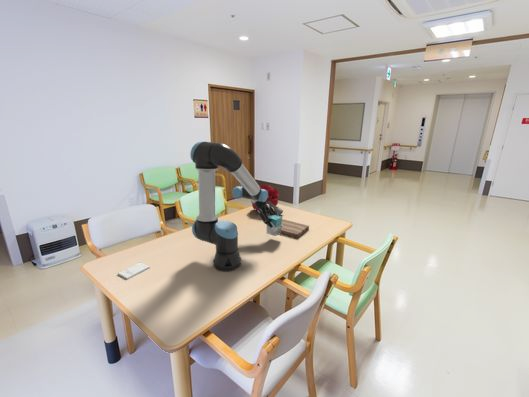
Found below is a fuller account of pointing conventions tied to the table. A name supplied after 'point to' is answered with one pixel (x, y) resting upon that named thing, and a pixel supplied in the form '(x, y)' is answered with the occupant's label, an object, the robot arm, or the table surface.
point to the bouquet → (270, 199)
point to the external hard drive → (133, 270)
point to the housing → (277, 223)
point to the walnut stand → (293, 228)
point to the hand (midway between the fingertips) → (278, 229)
